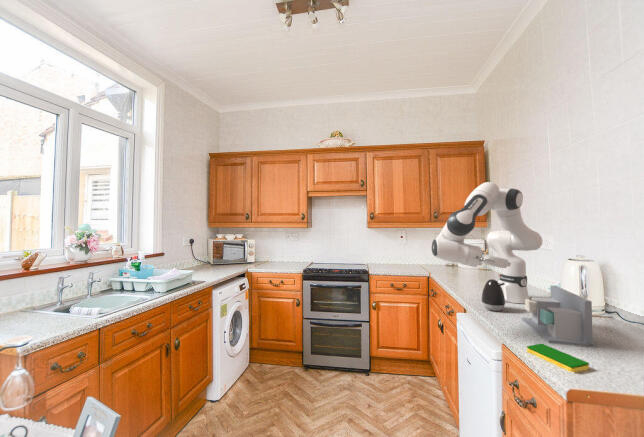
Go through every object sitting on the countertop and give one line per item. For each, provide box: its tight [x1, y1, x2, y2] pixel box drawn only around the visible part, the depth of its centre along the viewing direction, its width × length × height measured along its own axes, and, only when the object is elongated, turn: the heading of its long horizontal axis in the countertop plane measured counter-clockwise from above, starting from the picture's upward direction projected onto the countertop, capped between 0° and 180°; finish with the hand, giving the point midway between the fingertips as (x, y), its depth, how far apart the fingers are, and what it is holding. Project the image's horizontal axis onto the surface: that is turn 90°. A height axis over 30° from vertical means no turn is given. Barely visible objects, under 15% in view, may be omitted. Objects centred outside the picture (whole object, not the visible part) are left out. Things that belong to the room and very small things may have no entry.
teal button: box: [540, 309, 554, 324], centre depth 103 cm, size 8×4×4 cm, turn 73°
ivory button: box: [524, 298, 537, 313], centre depth 117 cm, size 8×4×4 cm, turn 73°
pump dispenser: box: [481, 279, 506, 312], centre depth 137 cm, size 10×10×15 cm
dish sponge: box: [526, 343, 590, 373], centre depth 88 cm, size 7×14×2 cm, turn 15°
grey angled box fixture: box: [521, 285, 597, 348], centre depth 109 cm, size 14×24×16 cm, turn 163°
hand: (508, 264), depth 111 cm, fingers closed
